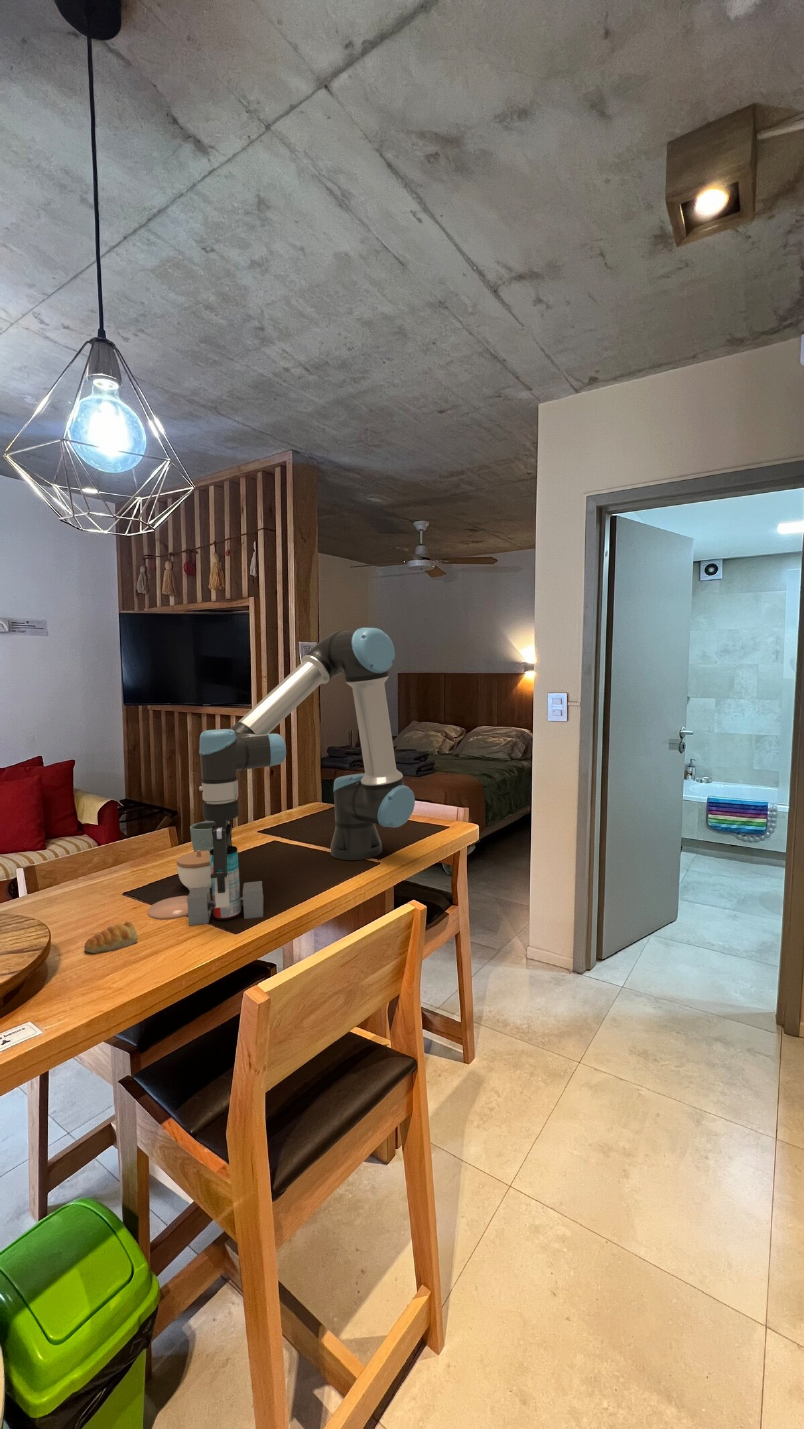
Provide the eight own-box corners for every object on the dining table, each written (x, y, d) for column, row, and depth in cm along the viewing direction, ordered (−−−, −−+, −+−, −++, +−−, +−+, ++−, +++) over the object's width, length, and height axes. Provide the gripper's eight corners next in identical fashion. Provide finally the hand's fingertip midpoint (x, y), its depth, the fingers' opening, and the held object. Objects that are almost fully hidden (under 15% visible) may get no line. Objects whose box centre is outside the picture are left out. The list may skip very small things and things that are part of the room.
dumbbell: (263, 901, 138) (262, 876, 138) (262, 916, 129) (261, 890, 129) (194, 909, 135) (192, 883, 135) (188, 925, 126) (187, 898, 126)
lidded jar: (168, 892, 146) (166, 855, 146) (198, 877, 156) (196, 842, 156) (203, 896, 142) (201, 859, 142) (231, 881, 152) (229, 846, 152)
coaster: (206, 895, 143) (206, 893, 143) (200, 915, 131) (200, 912, 131) (153, 901, 140) (153, 899, 140) (142, 922, 129) (142, 919, 129)
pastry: (90, 959, 113) (88, 940, 112) (80, 949, 118) (79, 930, 117) (140, 943, 119) (139, 924, 119) (129, 933, 124) (128, 915, 124)
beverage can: (227, 908, 135) (223, 844, 133) (246, 912, 132) (243, 847, 131) (207, 918, 129) (203, 852, 128) (227, 923, 127) (223, 855, 125)
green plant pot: (212, 874, 158) (209, 830, 157) (184, 870, 163) (181, 827, 162) (237, 862, 167) (235, 821, 167) (210, 858, 172) (208, 818, 171)
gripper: (208, 790, 140) (213, 877, 141) (195, 814, 116) (200, 919, 117) (241, 788, 142) (245, 874, 143) (234, 811, 117) (239, 915, 119)
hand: (225, 895), depth 130 cm, fingers open, 13 cm apart
